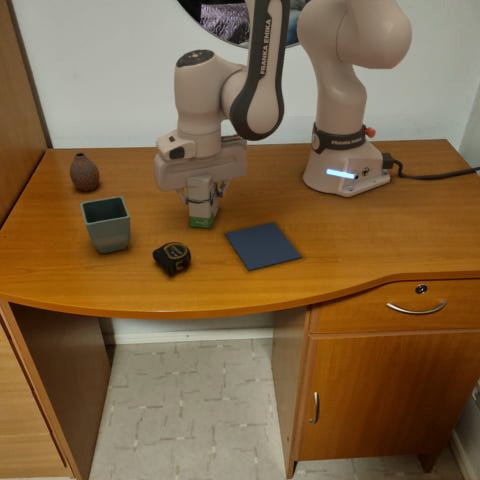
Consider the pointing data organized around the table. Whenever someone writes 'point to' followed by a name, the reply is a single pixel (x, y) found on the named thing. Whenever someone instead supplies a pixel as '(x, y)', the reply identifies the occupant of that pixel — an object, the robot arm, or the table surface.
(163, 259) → the tape measure
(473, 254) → the table surface
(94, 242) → the flower pot
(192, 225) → the ink box
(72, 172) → the vase
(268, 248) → the cloth
